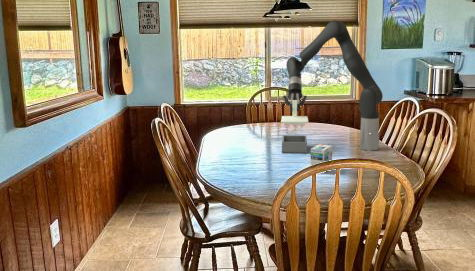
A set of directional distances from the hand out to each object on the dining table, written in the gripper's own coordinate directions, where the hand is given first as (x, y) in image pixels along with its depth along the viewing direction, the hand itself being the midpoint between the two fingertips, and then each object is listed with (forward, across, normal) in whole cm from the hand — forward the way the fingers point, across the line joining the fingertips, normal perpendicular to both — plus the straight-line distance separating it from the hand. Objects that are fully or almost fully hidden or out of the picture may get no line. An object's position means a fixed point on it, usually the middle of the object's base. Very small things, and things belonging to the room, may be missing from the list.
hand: (294, 110), depth 237 cm
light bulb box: (+46, +12, -17) cm, 51 cm away
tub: (+18, 0, +11) cm, 21 cm away
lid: (+8, 0, 0) cm, 8 cm away
